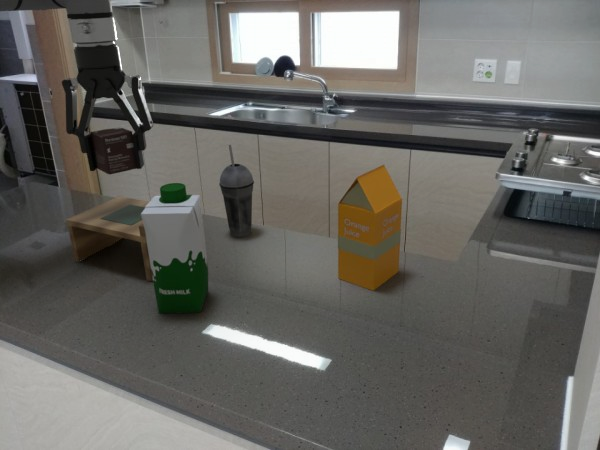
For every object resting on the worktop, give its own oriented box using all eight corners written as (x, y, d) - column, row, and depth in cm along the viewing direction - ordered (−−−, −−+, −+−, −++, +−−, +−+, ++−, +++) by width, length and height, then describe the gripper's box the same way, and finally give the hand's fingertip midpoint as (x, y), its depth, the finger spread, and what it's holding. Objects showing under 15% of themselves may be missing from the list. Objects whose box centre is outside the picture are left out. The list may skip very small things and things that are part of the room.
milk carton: (214, 288, 95) (202, 181, 88) (204, 316, 87) (190, 201, 79) (165, 288, 96) (149, 182, 88) (151, 316, 88) (132, 202, 80)
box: (108, 175, 100) (100, 137, 97) (96, 169, 104) (89, 131, 101) (139, 168, 103) (132, 131, 100) (126, 162, 108) (120, 126, 105)
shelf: (75, 260, 107) (63, 209, 103) (126, 234, 118) (117, 187, 114) (151, 281, 98) (142, 226, 94) (198, 250, 110) (192, 200, 105)
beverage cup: (263, 229, 118) (258, 141, 110) (244, 242, 113) (237, 150, 105) (237, 224, 122) (230, 137, 114) (217, 236, 116) (208, 146, 108)
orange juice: (399, 271, 99) (404, 167, 91) (373, 291, 93) (376, 181, 85) (363, 260, 104) (365, 160, 96) (337, 278, 98) (336, 173, 90)
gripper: (26, 48, 91) (55, 176, 100) (151, 43, 91) (168, 171, 100) (43, 44, 98) (69, 164, 107) (159, 40, 98) (175, 159, 107)
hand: (117, 167), depth 103 cm, fingers closed on box, 8 cm apart
